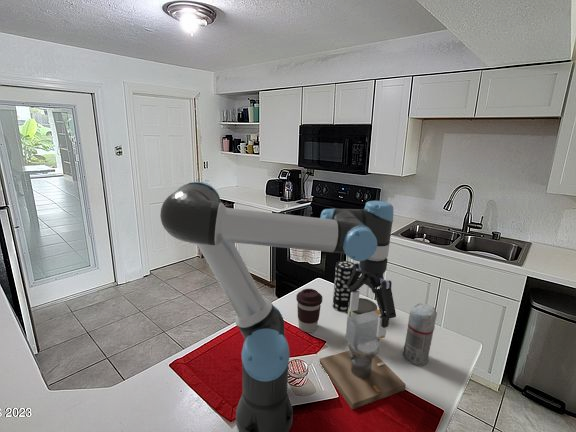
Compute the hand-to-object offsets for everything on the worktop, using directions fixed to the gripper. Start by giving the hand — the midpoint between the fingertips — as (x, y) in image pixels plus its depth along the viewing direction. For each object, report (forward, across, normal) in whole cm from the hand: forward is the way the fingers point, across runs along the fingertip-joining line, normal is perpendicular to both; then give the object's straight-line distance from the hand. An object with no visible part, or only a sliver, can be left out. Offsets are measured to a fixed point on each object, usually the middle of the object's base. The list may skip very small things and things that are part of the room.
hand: (366, 322), depth 95 cm
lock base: (+20, 0, 0) cm, 20 cm away
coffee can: (+20, +16, -11) cm, 28 cm away
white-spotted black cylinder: (+20, +37, -17) cm, 45 cm away
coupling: (+9, 0, 0) cm, 9 cm away
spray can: (+20, 0, -23) cm, 30 cm away
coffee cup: (+20, +29, +4) cm, 35 cm away
